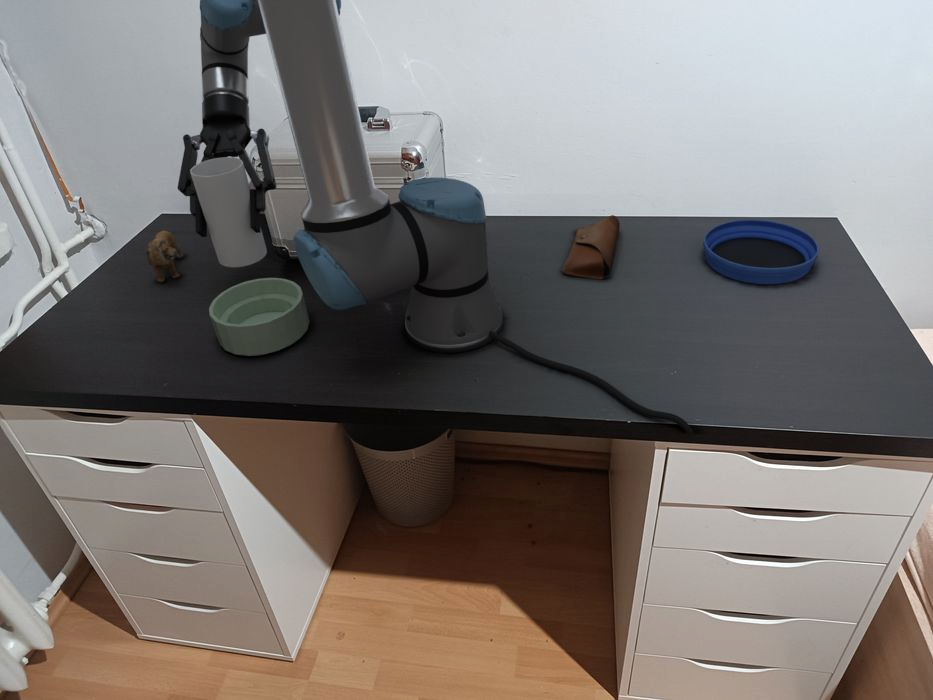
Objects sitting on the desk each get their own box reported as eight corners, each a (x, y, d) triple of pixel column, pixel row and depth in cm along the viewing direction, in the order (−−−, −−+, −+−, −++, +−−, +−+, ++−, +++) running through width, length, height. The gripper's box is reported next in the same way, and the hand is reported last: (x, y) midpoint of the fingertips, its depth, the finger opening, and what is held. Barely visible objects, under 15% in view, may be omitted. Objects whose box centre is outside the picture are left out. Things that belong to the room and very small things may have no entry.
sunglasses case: (574, 227, 131) (593, 200, 127) (605, 246, 132) (625, 219, 127) (560, 273, 117) (581, 245, 113) (594, 294, 118) (617, 266, 114)
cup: (275, 246, 120) (252, 157, 110) (251, 269, 114) (225, 177, 104) (234, 243, 122) (208, 156, 113) (209, 265, 116) (179, 175, 106)
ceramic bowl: (328, 322, 111) (320, 290, 107) (262, 369, 102) (252, 336, 98) (267, 300, 118) (259, 270, 114) (201, 342, 108) (189, 311, 105)
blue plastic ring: (796, 236, 123) (801, 218, 121) (828, 287, 109) (834, 267, 107) (693, 237, 126) (696, 219, 124) (711, 288, 111) (714, 269, 109)
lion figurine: (187, 284, 124) (172, 240, 119) (157, 291, 123) (140, 247, 118) (183, 251, 136) (169, 209, 130) (155, 257, 134) (139, 215, 129)
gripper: (293, 109, 119) (298, 234, 115) (173, 119, 119) (174, 244, 115) (281, 86, 111) (286, 219, 108) (153, 96, 111) (153, 229, 108)
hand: (228, 232), depth 111 cm, fingers closed on cup, 8 cm apart
